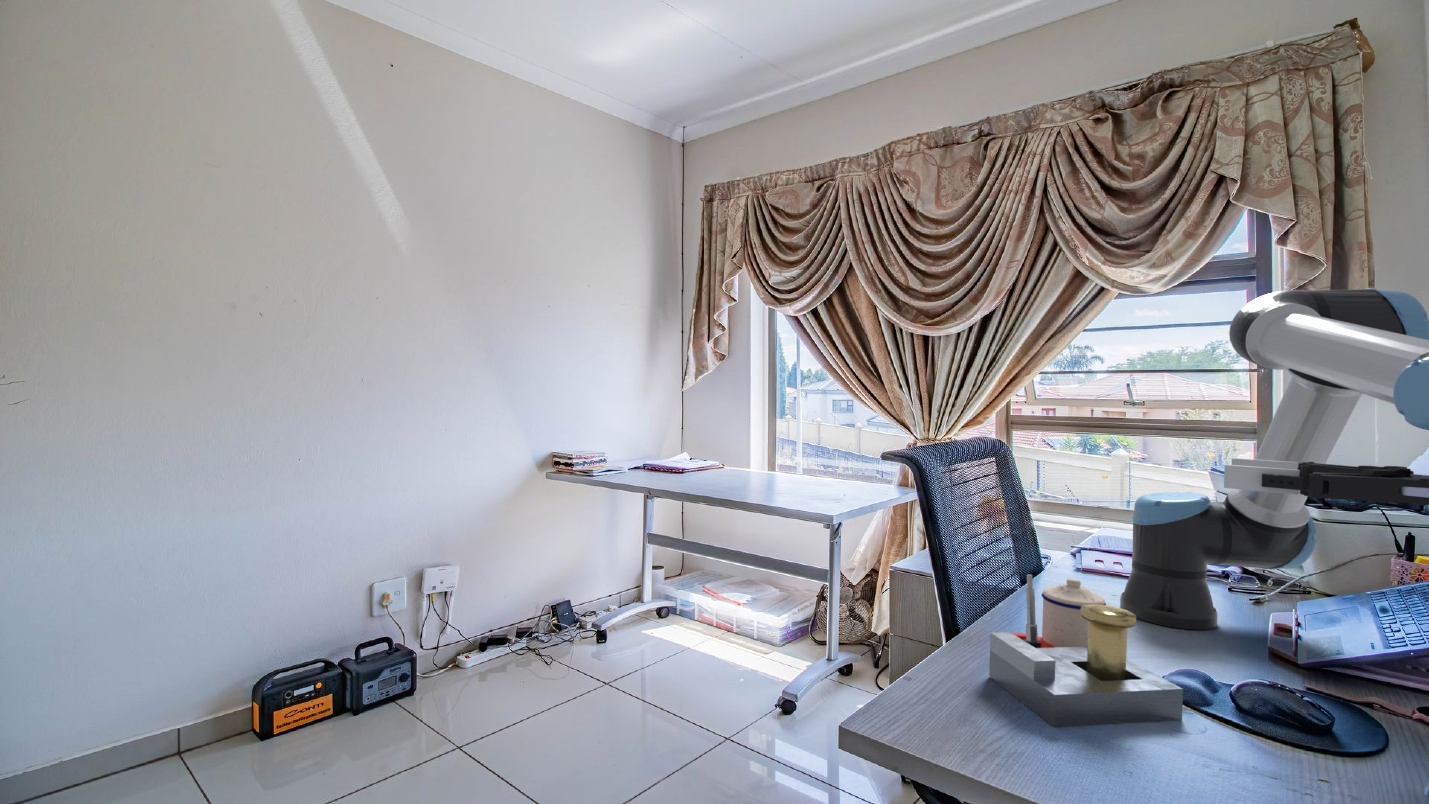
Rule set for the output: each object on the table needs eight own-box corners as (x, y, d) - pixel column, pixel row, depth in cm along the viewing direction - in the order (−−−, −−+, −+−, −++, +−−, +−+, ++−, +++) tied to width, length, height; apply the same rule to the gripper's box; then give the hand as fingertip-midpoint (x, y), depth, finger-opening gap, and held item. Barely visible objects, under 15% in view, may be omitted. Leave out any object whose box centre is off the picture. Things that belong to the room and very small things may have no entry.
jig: (1100, 672, 95) (1102, 629, 95) (1182, 720, 82) (1183, 669, 81) (989, 677, 93) (990, 632, 93) (1053, 726, 79) (1055, 674, 79)
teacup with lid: (1101, 668, 97) (1103, 591, 97) (1035, 652, 102) (1037, 580, 102) (1108, 644, 107) (1110, 575, 107) (1048, 631, 112) (1050, 565, 112)
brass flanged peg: (1108, 688, 90) (1111, 603, 90) (1145, 710, 84) (1148, 619, 84) (1067, 689, 89) (1070, 604, 89) (1101, 712, 83) (1104, 620, 83)
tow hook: (989, 638, 109) (1005, 659, 99) (986, 562, 109) (1002, 575, 100) (1042, 640, 107) (1063, 661, 98) (1039, 563, 108) (1060, 576, 99)
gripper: (1522, 547, 57) (1219, 513, 71) (1464, 513, 75) (1233, 492, 90) (1525, 463, 57) (1221, 446, 71) (1466, 450, 75) (1235, 438, 90)
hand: (1227, 471), depth 80 cm, fingers open, 13 cm apart
